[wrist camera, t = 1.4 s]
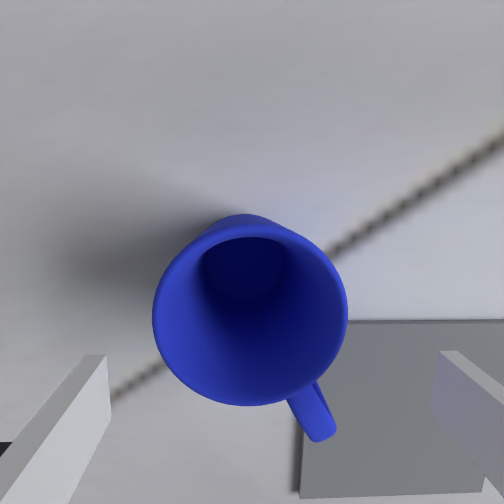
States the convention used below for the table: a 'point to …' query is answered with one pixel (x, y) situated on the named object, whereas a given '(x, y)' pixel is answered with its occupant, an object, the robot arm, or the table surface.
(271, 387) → the mug
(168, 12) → the table surface
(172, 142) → the table surface
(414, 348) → the coaster
